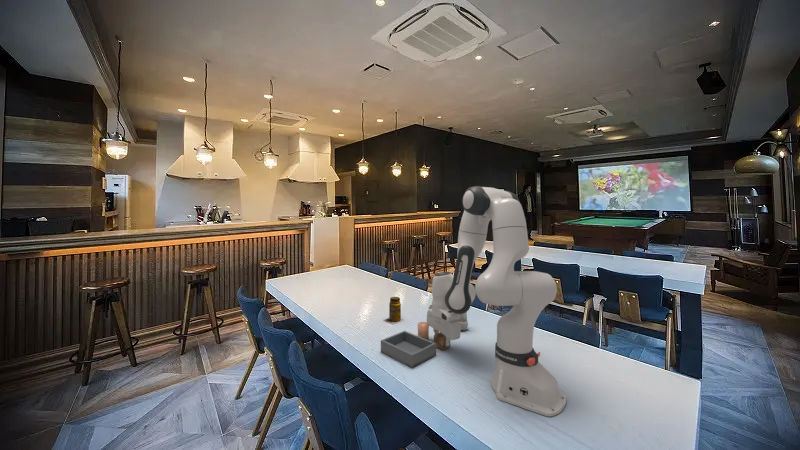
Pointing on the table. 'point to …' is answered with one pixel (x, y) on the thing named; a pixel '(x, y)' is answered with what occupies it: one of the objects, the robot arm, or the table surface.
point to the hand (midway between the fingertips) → (442, 342)
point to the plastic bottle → (463, 321)
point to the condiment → (394, 311)
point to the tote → (408, 348)
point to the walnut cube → (440, 341)
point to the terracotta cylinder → (423, 330)
